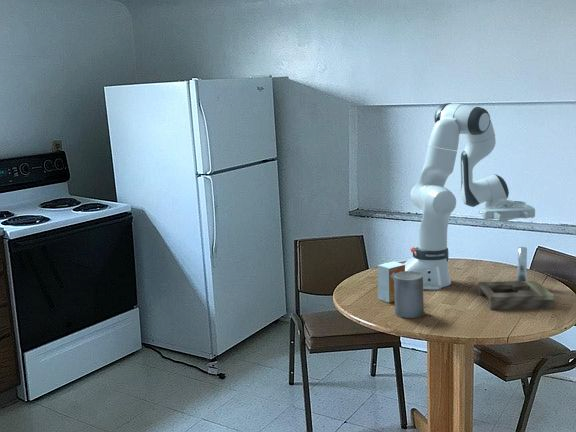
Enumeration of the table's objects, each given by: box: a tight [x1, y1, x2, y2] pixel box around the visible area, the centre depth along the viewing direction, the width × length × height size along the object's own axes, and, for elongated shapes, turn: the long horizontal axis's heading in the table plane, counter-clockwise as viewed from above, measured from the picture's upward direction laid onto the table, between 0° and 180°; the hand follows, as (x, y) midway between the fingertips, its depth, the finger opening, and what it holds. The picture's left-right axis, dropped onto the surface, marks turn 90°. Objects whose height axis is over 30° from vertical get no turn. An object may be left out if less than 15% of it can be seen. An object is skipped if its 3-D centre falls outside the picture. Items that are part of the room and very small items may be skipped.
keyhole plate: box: [478, 280, 555, 311], centre depth 223 cm, size 21×17×4 cm
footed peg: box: [516, 246, 528, 281], centre depth 238 cm, size 6×6×15 cm
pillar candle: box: [394, 271, 425, 319], centre depth 215 cm, size 10×10×15 cm
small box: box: [377, 260, 405, 303], centre depth 231 cm, size 8×6×13 cm
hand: (513, 216), depth 246 cm, fingers open, 8 cm apart
